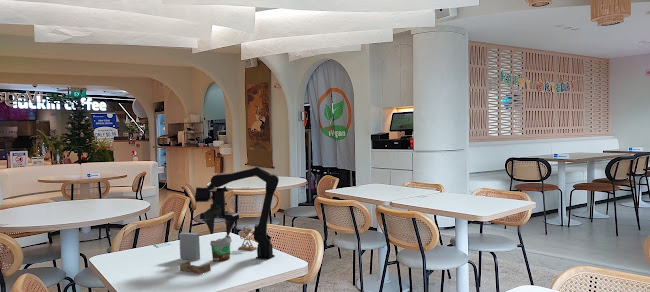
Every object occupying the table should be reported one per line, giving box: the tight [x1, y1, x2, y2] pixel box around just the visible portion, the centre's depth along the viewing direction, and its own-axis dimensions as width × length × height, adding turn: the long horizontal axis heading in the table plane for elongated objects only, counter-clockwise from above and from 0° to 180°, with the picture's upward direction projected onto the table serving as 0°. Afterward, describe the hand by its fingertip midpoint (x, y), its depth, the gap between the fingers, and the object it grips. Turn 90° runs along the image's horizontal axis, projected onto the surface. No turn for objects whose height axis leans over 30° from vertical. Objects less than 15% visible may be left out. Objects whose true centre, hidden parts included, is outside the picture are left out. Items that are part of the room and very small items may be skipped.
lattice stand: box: [238, 225, 257, 252], centre depth 232 cm, size 9×4×12 cm, turn 64°
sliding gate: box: [178, 232, 201, 261], centre depth 217 cm, size 10×2×12 cm, turn 65°
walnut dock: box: [179, 260, 212, 275], centre depth 198 cm, size 12×6×3 cm, turn 65°
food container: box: [209, 234, 233, 263], centre depth 215 cm, size 12×6×10 cm, turn 156°
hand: (219, 234), depth 214 cm, fingers open, 9 cm apart
